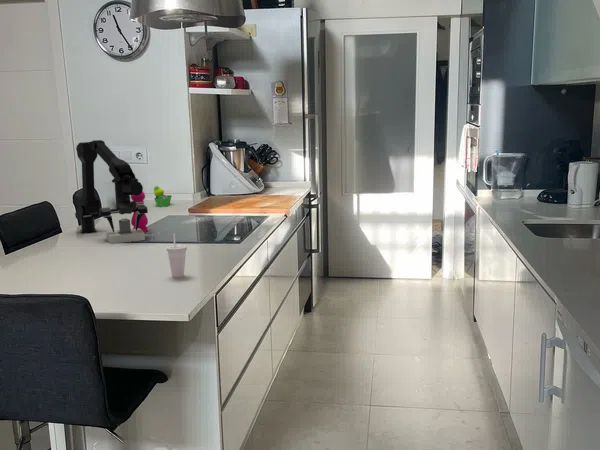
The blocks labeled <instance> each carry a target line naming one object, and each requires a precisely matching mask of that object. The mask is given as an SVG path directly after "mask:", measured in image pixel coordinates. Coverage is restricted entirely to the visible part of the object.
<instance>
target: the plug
mask: <svg viewBox="0 0 600 450" xmlns="http://www.w3.org/2000/svg"><path fill="white" fill-rule="evenodd" d="M130 220H131V219H128V218H120V219H118V224H119V225H118V227H119V229H118V230H120V234H125V233H131V229H132V228H131V221H130Z"/></svg>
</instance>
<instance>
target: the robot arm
mask: <svg viewBox="0 0 600 450" xmlns="http://www.w3.org/2000/svg"><path fill="white" fill-rule="evenodd" d="M75 147H76V148H75V149H76V155H77V158H78V159H79V161H80V162H81V179H82V180H81V181H82V183H81V185H82V196H81V197H80V199H79V202H78V208H77V209H76V212H75V213H74V215H75V219H77V220H80V226H81V227H80V228H81V229H79V230H80V233H81V234H85V233H93V232H94V233H96V232H97V229H96V224H95V218H98V217H103V218H104V219H106V220H107V221H108V223H109V225H110V228H111V231H113V232H114V230H115V227H114V221H113V218H112V217H113V216H112V215H113V214H120V215H125V214H127V215H130V214H133V213H134V212H137V213H136V218H135V228H136V230H137V228H138V225H139V221H140V219H141V217H142V215H146V214H148V213H149V211H148V210H149V209H148V207H147V206H146V205H145V204H144V205H136V201H133V200H132V201H131V195H134V196H138V195H140V194H141V193H142V191H143V189H144V186H143V184H142V183H141V182H140V181H139V179H138V178H136V174H135V173H134V172H133V169H132V166H131V165H130V164H129V163H128V162H127V161H126V160H123V159H120V158H119V157H117V155H115V153H114V152H113V151H112V150H111V149H110V148H109V146H107V144H106V143H105V141H104V140H102V139H95V140H94V139H93V140H91V141H83V142H78V144H77V145H76V146H75ZM98 156H99V157H100V158H101V159H102V161H104V163H106V165H107V166H108V171H109V173H110V174H111V176H112V177H113V179H112V180H111V183H113V184H114V193H115V195H114V196H115V207H116V208H112V209H111V208H110V207H100V206H101V205H100V203H101V202H100V201H101V200H100V199H98V198H97V197H96V195H95V162H96V160H97V158H98ZM143 192H144V191H143ZM144 213H145V214H144Z"/></svg>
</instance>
